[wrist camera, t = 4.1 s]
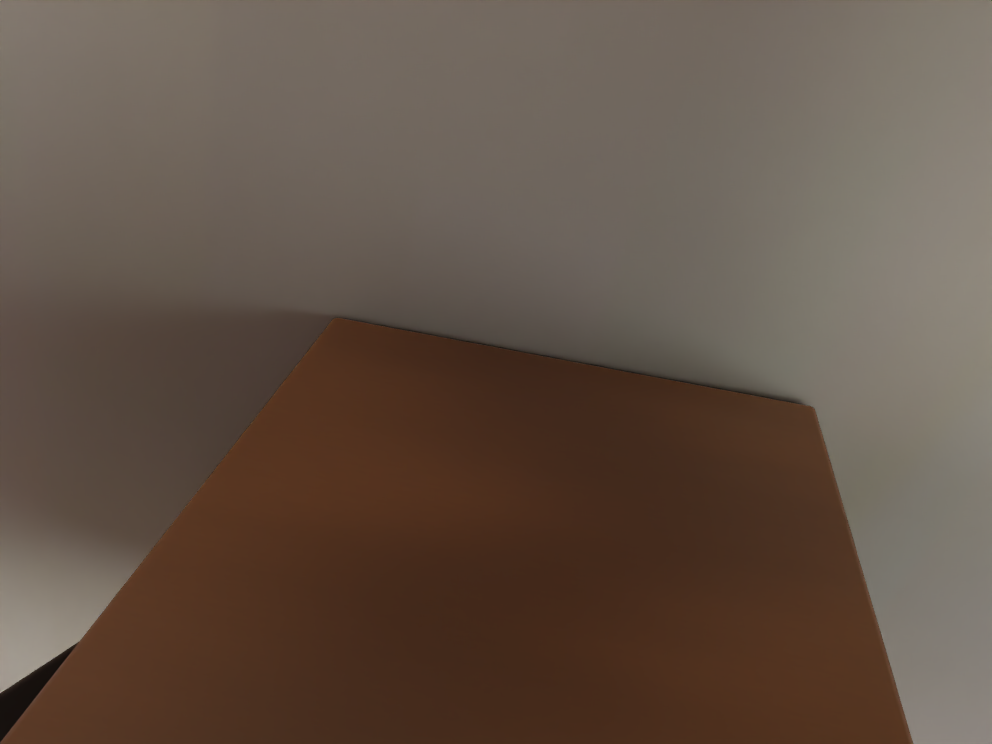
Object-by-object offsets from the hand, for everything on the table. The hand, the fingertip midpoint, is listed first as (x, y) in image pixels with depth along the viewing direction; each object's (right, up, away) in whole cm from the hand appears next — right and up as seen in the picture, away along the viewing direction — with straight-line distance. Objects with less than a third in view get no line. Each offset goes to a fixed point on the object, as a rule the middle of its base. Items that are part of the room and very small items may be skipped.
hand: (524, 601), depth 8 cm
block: (0, +1, +1) cm, 1 cm away
